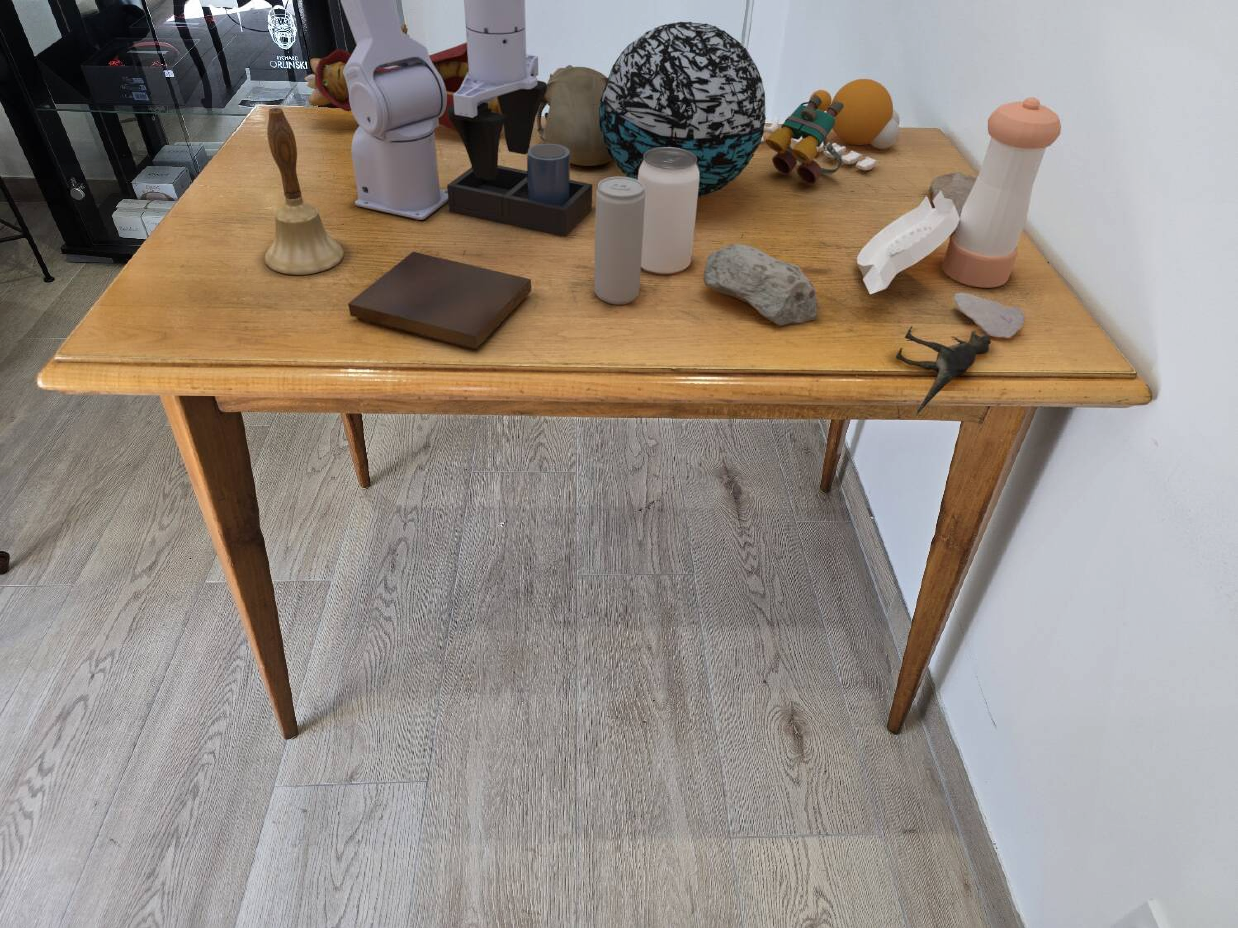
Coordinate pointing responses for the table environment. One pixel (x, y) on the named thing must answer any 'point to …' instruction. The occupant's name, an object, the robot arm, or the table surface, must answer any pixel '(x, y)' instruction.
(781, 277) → the decorative stone
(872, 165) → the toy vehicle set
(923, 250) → the two-handled dish
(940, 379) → the dinosaur
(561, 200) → the tumbler
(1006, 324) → the stone
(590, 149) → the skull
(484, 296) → the shelf
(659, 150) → the can
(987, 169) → the pepper shaker
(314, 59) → the figurine
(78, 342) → the table surface
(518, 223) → the rack
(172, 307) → the table surface
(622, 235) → the beverage can
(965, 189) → the stone
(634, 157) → the decorative sphere
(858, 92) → the toy
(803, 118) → the binoculars
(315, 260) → the hand bell
